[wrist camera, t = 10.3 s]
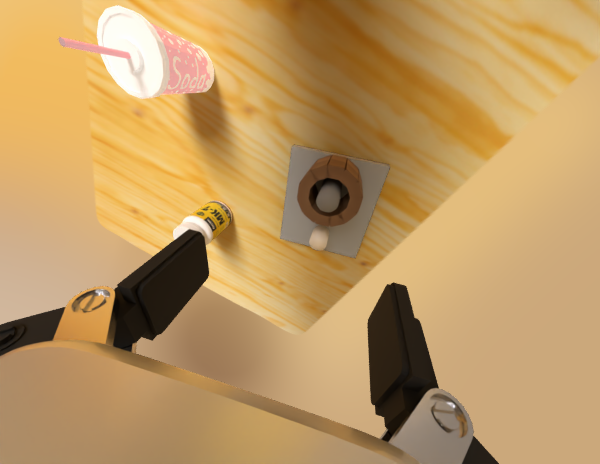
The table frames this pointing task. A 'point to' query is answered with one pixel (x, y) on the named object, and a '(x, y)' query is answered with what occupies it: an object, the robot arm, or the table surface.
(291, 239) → the post board
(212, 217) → the supplement bottle
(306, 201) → the ring
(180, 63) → the beverage cup
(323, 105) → the table surface
